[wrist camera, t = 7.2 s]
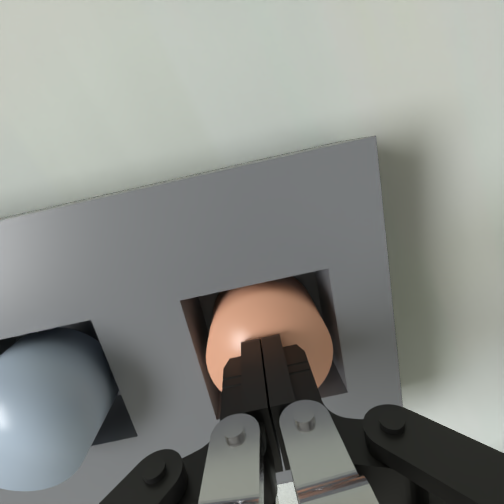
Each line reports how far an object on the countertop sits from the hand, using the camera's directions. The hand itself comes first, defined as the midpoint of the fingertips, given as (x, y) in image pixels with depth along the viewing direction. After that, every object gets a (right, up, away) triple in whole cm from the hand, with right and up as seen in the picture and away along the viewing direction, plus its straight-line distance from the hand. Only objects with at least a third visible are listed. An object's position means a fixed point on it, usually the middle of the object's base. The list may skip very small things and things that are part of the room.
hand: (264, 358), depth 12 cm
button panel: (-9, -1, +5) cm, 10 cm away
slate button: (-9, -1, +2) cm, 9 cm away
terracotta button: (0, +1, +3) cm, 3 cm away
